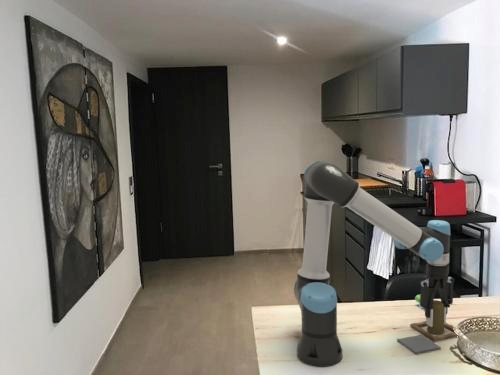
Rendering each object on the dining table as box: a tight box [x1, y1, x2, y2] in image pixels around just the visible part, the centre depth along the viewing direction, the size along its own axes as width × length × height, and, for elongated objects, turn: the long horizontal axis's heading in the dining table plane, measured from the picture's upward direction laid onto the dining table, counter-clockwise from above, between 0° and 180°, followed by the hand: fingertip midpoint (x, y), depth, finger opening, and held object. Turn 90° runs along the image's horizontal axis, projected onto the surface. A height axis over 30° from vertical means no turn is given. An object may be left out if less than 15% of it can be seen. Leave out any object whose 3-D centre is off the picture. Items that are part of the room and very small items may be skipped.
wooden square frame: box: [409, 320, 458, 343], centre depth 163 cm, size 13×13×1 cm
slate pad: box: [396, 334, 442, 355], centre depth 153 cm, size 10×10×1 cm
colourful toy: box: [414, 293, 425, 310], centre depth 184 cm, size 8×3×6 cm, turn 20°
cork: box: [426, 299, 445, 335], centre depth 162 cm, size 6×6×11 cm
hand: (435, 323), depth 162 cm, fingers closed on cork, 5 cm apart
